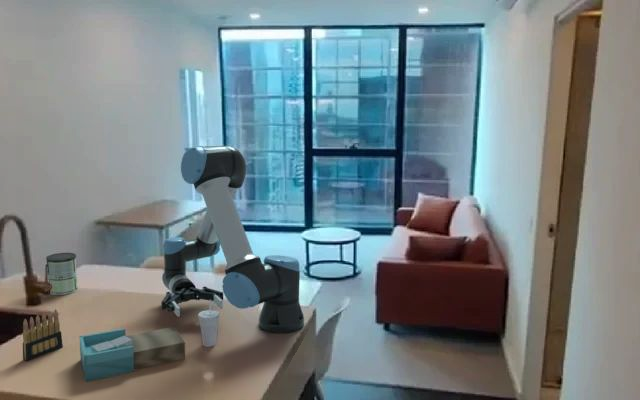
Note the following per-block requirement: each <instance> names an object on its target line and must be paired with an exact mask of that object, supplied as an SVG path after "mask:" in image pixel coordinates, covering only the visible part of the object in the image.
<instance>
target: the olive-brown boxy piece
mask: <svg viewBox="0 0 640 400" xmlns="http://www.w3.org/2000/svg"><path fill="white" fill-rule="evenodd" d="M126 337H128V338H130V339H132V341H133V356H134V371H135V370H139V369H144V368H149V367H153V366H159V365H162V364H168V363H172V362H177V361H181V360H186V342H185V340H184V339H183V337H182V336H181V335H180V332H178V330H177V328H176V327H175V326H172V327H167V328H161V329H155V330H151V331H145V332H140V333H135V334H129V335H126Z"/></svg>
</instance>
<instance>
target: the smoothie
mask: <svg viewBox="0 0 640 400" xmlns="http://www.w3.org/2000/svg"><path fill="white" fill-rule="evenodd" d="M212 306H213V305H212V301H211V300H210V301H209V309H207V310H203V311H200V312H199V313H198V314H197V318H198V320H199V326H200V333H201V339H202V344H203V345H202V346H204V347H206V348H207V347H208V348H211V347H213V346H215V345H216V344H217V334H218V333H217V332H218V325H219V318H220V311H218V310H215V309H212Z"/></svg>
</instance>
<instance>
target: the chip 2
mask: <svg viewBox="0 0 640 400" xmlns="http://www.w3.org/2000/svg"><path fill="white" fill-rule="evenodd" d="M126 336H127V335H126ZM126 336H125V335H124V336H122V337H119V338H117V339H114V340H112V341H109V342H110V343H111V344H113V345H114V346H115V347H116V349H118V348H123V347H128V346H133V341H132V339H130V338H128V337H126Z"/></svg>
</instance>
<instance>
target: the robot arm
mask: <svg viewBox="0 0 640 400" xmlns="http://www.w3.org/2000/svg"><path fill="white" fill-rule="evenodd" d="M246 163H247V162H246V159H245V157H244V156H243V154H242V152H241V151H240V150H239V149H237V148H235V147H234V146H231V145H211V146H209V145H207V146H203V145H198V146H193V147H189V148H188V149H187V150H186V151H185V152H184V153H183V155H182V158H181V162H180V172H181V177H182V180H183V181H184V182H186V184H190V185H193V187H194V190H195V192H196V193H198V194H200V195H202V197H203V200H204V203H205V205H206V211H205V214H204V217H203V220H202V223H201V225H200V228H199V231H198V233H197V235H196V238H195V239H190V240H186V239H185V238H184V237H181V236H173V237H172V236H171V237H169V238H166V239H165V240H164V242H163V250H162V251H163V259H164V262H163V263H164V269H163V273H162V277H161V279H162V283H163V285H164V286H165V287H166V288H167V290H169V291H165V296H164V297H163V299H162V300H161V302H160V303H161V310H166V309H167V312H168V313H169V312H174V314H175V315H176V316H177V317H180V316H181V308H180V306H179V305H178V304H182V303H186V302H190V301H192V300H194V301H195V300H196V301H200V300H204V301H209V302H210V300H211V302H213V303H214V305H215V306H216V307H217V308H219V309H220V310H222V309H223V308H224V307H223V300H224V296H225V298H226V300H227V301H228V302H229V304H231V305H232V306H234V307H235V308H237V309H241V310H242V309H248V308H254V307H255V306H258V305H260V304H262V308H261V310H260V313H259V317H258V327H259V328H260V329H262V330H264V331H267V332H270V333H277V334H284V333H293V332H296V331H298V330H300V329H302V328H303V327H304V325H305V317H304V313H303V311H302V307H301V304H300V276H301V275H300V273H301V269H300V262H299V260H298V259H297V258H295V257H291V256H287V255H279V254H278V255H277V254H274V255H272V254H271V255H266V256H265V257H264V258H263V262H262V260H261V257H260V256H259V255H257V254H254V253H253V250H252V246H251V244H250V241H249V238H248V236H247V233H246V231H245V228H244V225H243V222H242V219H241V217H240V215H239V212H238V209H237V206H236V205H235V201H234V199H235V196H236V194H237V191H238V190H239V189H241V188H242V187H243V185H244V183H245V178H246V175H247V164H246ZM220 247H221V248H220ZM221 249H222V252H223V256H224V258H225V261H226V264H227V265H226V266H225V268H224V273H225V275H224V277H223V278H222V285H221V286H222V291H220V290H216V289H212V288H209V287H207V286H202V289H200V288H196V285H195V284H194V282H193V281H191V279H190V278H188V276H187V271H186V270H187V269H186V268H187V262H192V261H195V260H196V261H197V260H201V259H206V258H210V257H212V256H216V255H217V254H218V253H219V252H220V250H221Z"/></svg>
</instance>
